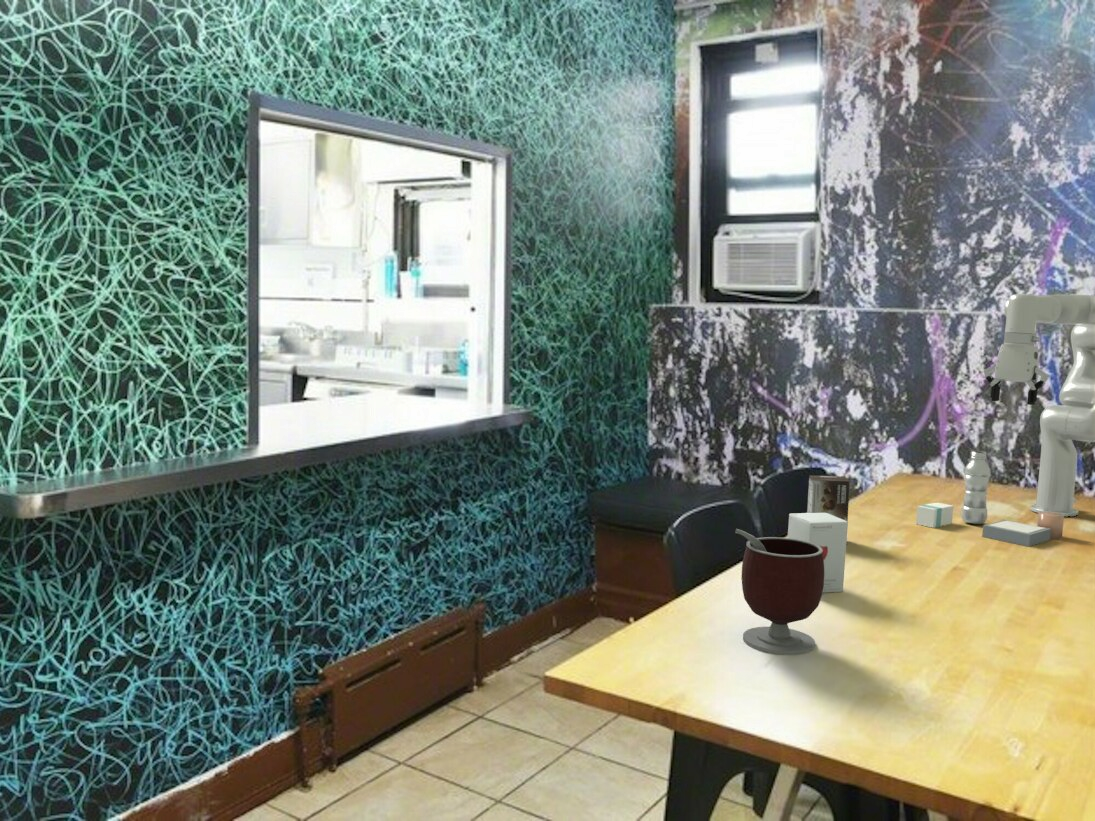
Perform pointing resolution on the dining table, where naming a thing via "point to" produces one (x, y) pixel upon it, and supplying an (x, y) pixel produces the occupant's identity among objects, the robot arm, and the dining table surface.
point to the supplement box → (823, 543)
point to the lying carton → (934, 514)
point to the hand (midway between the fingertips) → (1012, 402)
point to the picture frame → (1016, 532)
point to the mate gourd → (781, 590)
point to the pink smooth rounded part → (1052, 523)
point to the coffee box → (829, 495)
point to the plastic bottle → (976, 489)
